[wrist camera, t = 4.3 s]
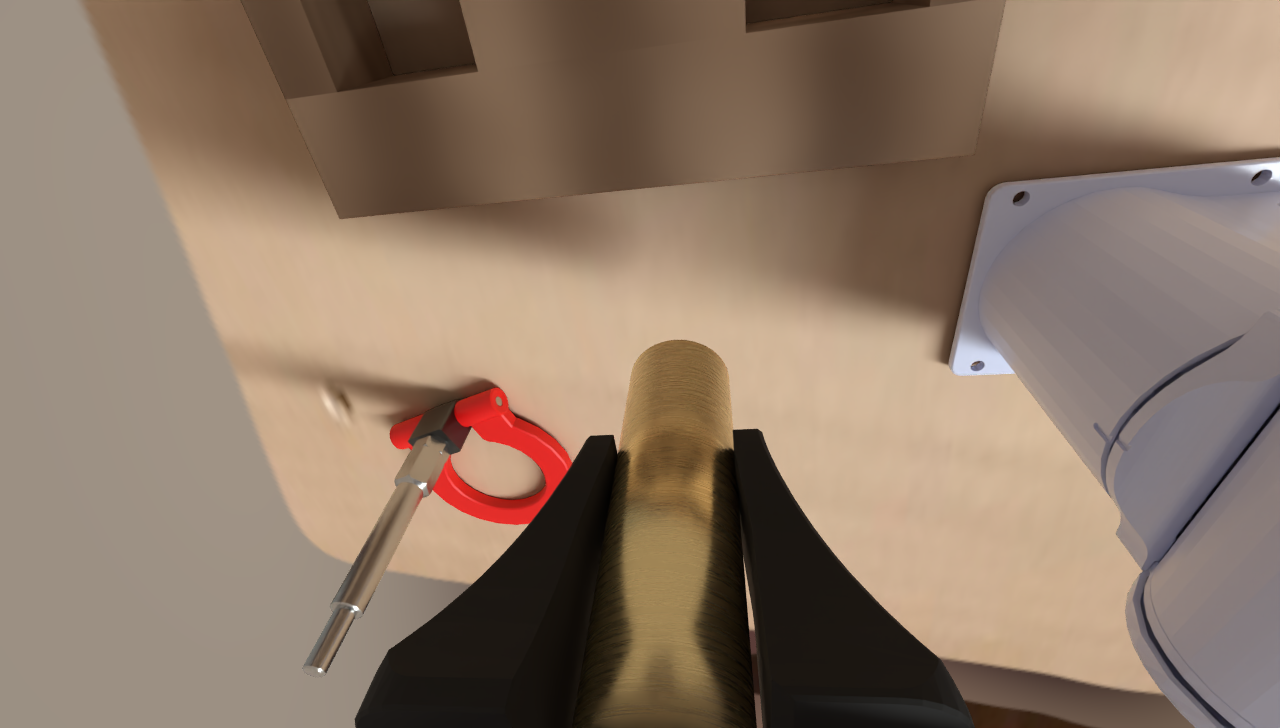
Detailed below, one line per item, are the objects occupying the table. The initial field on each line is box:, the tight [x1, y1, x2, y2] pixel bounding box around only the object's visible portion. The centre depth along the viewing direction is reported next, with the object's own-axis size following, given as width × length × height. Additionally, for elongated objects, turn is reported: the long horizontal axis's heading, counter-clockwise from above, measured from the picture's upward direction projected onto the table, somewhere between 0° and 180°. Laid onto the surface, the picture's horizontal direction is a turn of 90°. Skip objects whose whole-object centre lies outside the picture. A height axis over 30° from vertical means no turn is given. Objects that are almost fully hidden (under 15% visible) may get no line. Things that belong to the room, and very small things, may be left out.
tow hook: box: [302, 388, 572, 677], centre depth 25 cm, size 8×13×9 cm
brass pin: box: [572, 340, 757, 728], centre depth 13 cm, size 3×3×10 cm
